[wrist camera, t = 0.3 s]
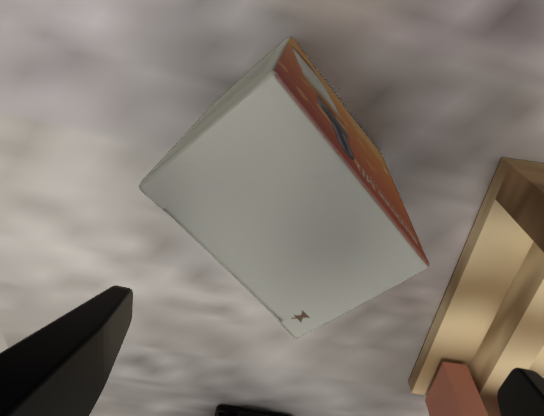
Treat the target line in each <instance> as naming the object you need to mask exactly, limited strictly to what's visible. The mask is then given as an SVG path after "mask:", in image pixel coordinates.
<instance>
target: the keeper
mask: <svg viewBox="0 0 544 416" xmlns="http://www.w3.org/2000/svg"><path fill="white" fill-rule="evenodd" d="M425 401H426V404H427V408H428V411H429V415H430V416H488V414H487V411H486V409H485V407H484V404H483V402H482V400H481V397H480V395H479V392H478V390H477V388H476V385H475V383H474V381H473V378H472V376H471V374H470V371H469V369H468V367H467V365H463V364H456V363H449V362H443V363H442V365H441V367H440V369H439V371H438V373H437V376H436V378H435V380H434V382H433V384H432V386H431V389H430V391H429V393H428V395H427V397H426V399H425ZM500 416H501V415H500Z"/></svg>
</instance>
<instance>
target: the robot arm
mask: <svg viewBox="0 0 544 416" xmlns="http://www.w3.org/2000/svg"><path fill="white" fill-rule="evenodd" d="M132 305H133V292H132V290H131V289H130V288H126V287H121V286H112V287H110V288H109V289H107V290H105V291H104V292H102V293H100V294H99V295H97V296H95V297H94V298H92V299H90V300H89V301H87V302H85V303H83V304H82V305H80V306H78V307H77V308H75V309H73V310H72V311H70V312H68V313H67V314H65V315H63V316H62V317H60V318H58V319H57V320H55V321H53V322H52V323H50V324H48V325H47V326H45V327H43V328H42V329H40V330H38V331H36V332H35V333H33V334H31V335H30V336H28V337H26V338H25V339H23V340H21V341H20V342H18V343H16V344H15V345H13V346H11V347H10V348H8V349H6V350H5V351H3V352H1V353H0V416H89V414H90V413H91V411H92V409H93V407H94V405H95V404H96V402H97V400H98V398H99V396H100V394H101V392H102V390H103V388H104V386H105V384H106V382H107V379H108V377H109V374H110V372H111V370H112V367H113V365H114V362H115V360H116V357H117V355H118V353H119V350H120V348H121V345H122V343H123V340H124V338H125V336H126V333H127V331H128V328H129V326H130V323H131V319H132ZM497 401H498V405H499V410H500V414H501V416H544V378H543V377H541V376H540V375H539V374H538V373H537V372H535V371H533V370H529V369H524V368H514V369H513V370H512V371H511V372H510V373H509V375H508V376H507V378H506V379H505V381H504V382H503V383H502V385H501V386H500V388H499V390H498V393H497ZM215 416H288V415H281V414H274V413H267V412H260V411H254V410H247V409H240V408H233V407H227V406H218V407H217V408H216V411H215Z"/></svg>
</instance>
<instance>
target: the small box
mask: <svg viewBox="0 0 544 416" xmlns="http://www.w3.org/2000/svg"><path fill="white" fill-rule="evenodd" d="M139 188H140V190H141V191H142V192H143V193H144V194H145V195H147V196H148V197H149V198H150V199H151V200H152V201H154V202H155V203H156V204H157V205H158V206H159V207H160V208H162V209H163V210H164V211H165V212H166V213H167V214H168V215H170V216H171V217H172V218H173V219H174V220H175V221H176V222H177V223H178V224H179V225H180V226H182V227H183V228H184V229H185V230H186V231H187V232H188V233H189V234H190V235H191V236H192V237H193V238H194V239H195V240H196V241H197V242H198V243H200V244H201V245H202V246H203V247H204V248H205V249H206V250H207V251H208V252H209V253H210V254H211V255H212V256H213V257H214V258H215V259H216V260H217V261H218V262H219V263H220V264H222V265H223V266H224V267H225V268H226V269H227V270H228V271H229V272H230V273H231V274H232V275H233V276H234V277H235V278H236V279H237V280H238V281H239V282H240V283H241V284H242V285H243V286H244V287H245V288H247V289H248V290H249V291H250V292H251V293H252V294H253V295H254V296H255V297H256V298H257V299H258V300H259V301H260V302H261V303H262V304H263V305H264V306H265V307H266V308H267V309H268V310H269V311H270V312H271V313H272V314H273V315H274V316H275V317H276V318H277V319H278V321H279V322H280V323H281V324H282V325H283V326H284V327H285V328H286V329H287V330H288V332H289V333H290V334H291V335H292V336H293V337H294V338H299V337H301V336H303V335H304V334H306V333H308V332H310V331H312V330H314V329H316V328H318V327H320V326H322V325H324V324H325V323H327V322H329V321H331V320H333V319H335V318H337V317H339V316H340V315H342V314H344V313H346V312H348V311H350V310H352V309H353V308H355V307H357V306H359V305H361V304H363V303H365V302H366V301H368V300H370V299H372V298H374V297H376V296H378V295H380V294H381V293H383V292H385V291H387V290H389V289H391V288H393V287H395V286H397V285H398V284H400V283H402V282H404V281H406V280H408V279H409V278H411V277H413V276H414V275H416V274H418V273H420V272H422V271H424V270H426V269H427V268H428V267H429V262H428V260H427V258H426V256H425V253H424V251H423V249H422V247H421V244H420V242H419V240H418V237H417V235H416V233H415V231H414V228H413V226H412V223H411V221H410V219H409V216H408V214H407V212H406V209H405V207H404V205H403V202H402V200H401V198H400V195H399V193H398V191H397V188H396V186H395V184H394V181H393V179H392V177H391V175H390V172H389V170H388V167H387V165H386V163H385V161H384V158H383V156H382V154H381V153H380V151H379V150H378V149H377V148H376V146H375V145H374V144H373V143H372V141H371V140H370V139H369V138H368V137H367V135H366V134H365V133H364V132H363V130H362V129H361V128H360V127H359V125H358V124H357V123H356V121H355V120H354V119H353V117H352V116H351V115H350V114H349V112H348V111H347V109H346V108H345V107H344V105H343V104H342V103H341V101H340V100H339V99H338V97H337V96H336V95H335V93H334V92H333V91H332V89H331V88H330V86H329V85H328V84H327V82H326V81H325V80H324V78H323V77H322V76H321V74H320V73H319V72H318V70H317V69H316V68H315V66H314V65H313V64H312V62H311V61H310V60H309V58H308V57H307V56H306V54H305V53H304V52H303V50H302V49H301V48H300V46H299V45H298V44H297V42H296V41H295V40H294V39H293V38H292V37H288V38H287V39H286V40H284V41H283V42H282V43H281V44H280V45H278V46H277V47H276V48H275V49H274V50H273V51H271V52H270V53H269V54H268V55H267V56H266V57H264V58H263V59H262V60H261V61H260V62H259V63H258V64H257V65H255V66H254V67H253V68H252V69H251V70H250V71H249V72H248V73H247V74H245V75H244V76H243V77H242V78H241V79H240V80H239V81H238V82H237V83H235V84H234V85H233V86H232V87H231V88H230V89H229V90H228V91H227V92H226V93H225V94H224V95H223V96H221V97H220V98H219V99H218V100H217V101H216V102H215V103H214V104H213V105H212V106H211V107H210V108H209V109H208V110H207V111H206V112H205V113H204V114H203V116H202V117H201V118H200V119H199V120H198V121H197V122H196V123H195V124H194V125H193V126H192V127H191V128H190V129H189V130H188V132H187V133H186V134H185V135H184V136H183V137H182V138H181V139H180V140H179V142H178V143H177V144H176V145H175V146H174V147H173V148H172V149H171V150H170V151H169V152H168V153H167V155H166V156H165V157H164V158H163V159H162V160H161V161H160V162H159V163H158V164H157V165H156V166H155V167H154V168H153V169H152V170H151V171H150V172H149V173H148V174H147V176H146V177H145V178H144V179H143V180H142V181H141V183H140V185H139Z"/></svg>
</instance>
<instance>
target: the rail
mask: <svg viewBox="0 0 544 416" xmlns="http://www.w3.org/2000/svg"><path fill="white" fill-rule="evenodd" d="M443 362H449V363H456V364H463V365H467V367H468V369H469V371H470V374H471V376H472V378H473V381H474V383H475V385H476V388H477V390H478V392H479V395H480V397H481V400H482V402H483V404H484V407H485V409H486V411H487V414H488V416H500V415H501V414H500V410H499V405H498V401H497V393H498V390H499V388H500V386H501V385H502V383H503V382H504V381H505V379H506V378H507V376H508V375H509V373H510V372H511V371H512V370H513V369H514V368H524V369H529V370H533V371H535V372H537V373H538V374H539V375H540V376H541V377H543V376H544V163H540V162H532V161H525V160H517V159H510V158H501V160H500V163H499V165H498V167H497V170H496V172H495V175H494V177H493V179H492V182H491V184H490V187H489V189H488V191H487V194H486V196H485V199H484V201H483V203H482V206H481V208H480V211H479V213H478V216H477V218H476V220H475V223H474V225H473V228H472V230H471V232H470V235H469V237H468V240H467V242H466V244H465V247H464V249H463V252H462V254H461V256H460V259H459V261H458V264H457V266H456V268H455V271H454V273H453V276H452V278H451V280H450V283H449V285H448V288H447V290H446V292H445V295H444V297H443V300H442V302H441V304H440V307H439V309H438V312H437V314H436V316H435V319H434V321H433V324H432V326H431V328H430V331H429V333H428V336H427V338H426V340H425V343H424V345H423V348H422V350H421V353H420V355H419V357H418V360H417V362H416V365H415V367H414V369H413V372H412V374H411V377H410V379H409V381H408V382H409V386H410V389H411V393H413V394H420V395H428V393H429V391H430V389H431V386H432V384H433V382H434V380H435V378H436V376H437V373H438V371H439V369H440V367H441V365H442V363H443Z"/></svg>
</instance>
